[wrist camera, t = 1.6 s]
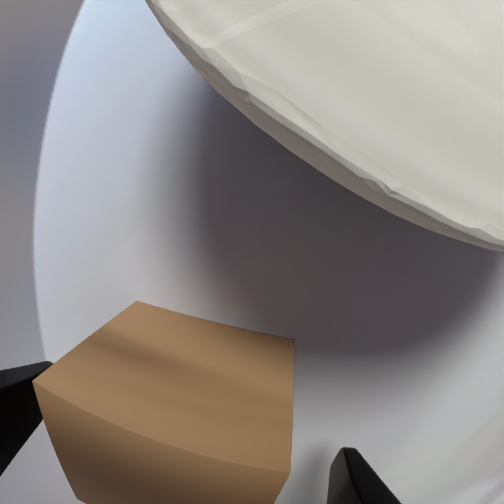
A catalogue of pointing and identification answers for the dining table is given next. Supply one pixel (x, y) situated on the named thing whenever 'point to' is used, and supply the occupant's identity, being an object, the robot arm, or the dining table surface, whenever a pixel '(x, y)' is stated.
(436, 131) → the ramekin
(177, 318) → the walnut cube
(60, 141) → the dining table surface
